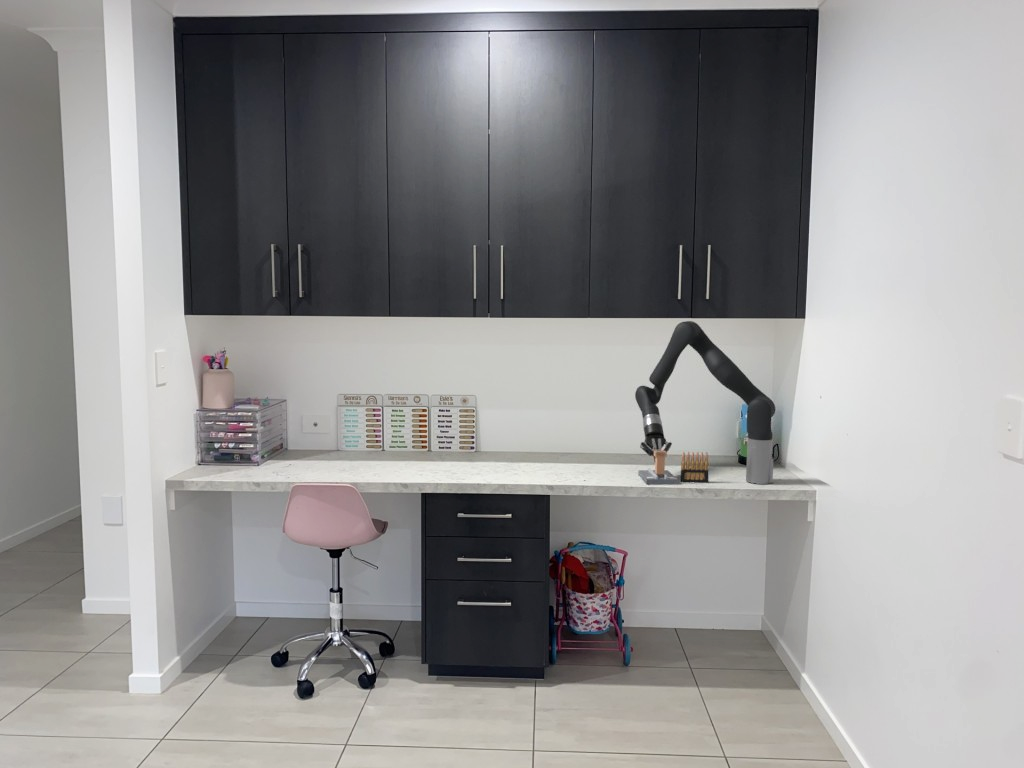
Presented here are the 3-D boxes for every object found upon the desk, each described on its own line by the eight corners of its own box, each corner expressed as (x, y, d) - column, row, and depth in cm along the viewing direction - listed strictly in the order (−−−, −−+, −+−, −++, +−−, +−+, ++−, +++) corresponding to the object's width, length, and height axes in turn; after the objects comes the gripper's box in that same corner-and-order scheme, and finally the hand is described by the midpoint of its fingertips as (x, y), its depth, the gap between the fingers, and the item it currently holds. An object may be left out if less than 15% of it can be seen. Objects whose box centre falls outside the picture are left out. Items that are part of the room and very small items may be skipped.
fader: (664, 475, 313) (664, 450, 311) (666, 477, 310) (666, 452, 308) (653, 475, 312) (653, 450, 311) (654, 477, 309) (655, 452, 308)
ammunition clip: (707, 481, 312) (708, 451, 311) (708, 483, 310) (709, 452, 309) (680, 481, 313) (680, 451, 311) (680, 482, 311) (681, 452, 309)
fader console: (667, 475, 323) (667, 467, 323) (677, 484, 307) (677, 476, 307) (638, 475, 322) (638, 467, 322) (646, 484, 307) (646, 476, 306)
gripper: (638, 422, 320) (643, 458, 309) (670, 422, 321) (677, 458, 310) (635, 433, 326) (640, 468, 315) (667, 432, 327) (673, 468, 316)
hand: (659, 463), depth 313 cm, fingers closed
